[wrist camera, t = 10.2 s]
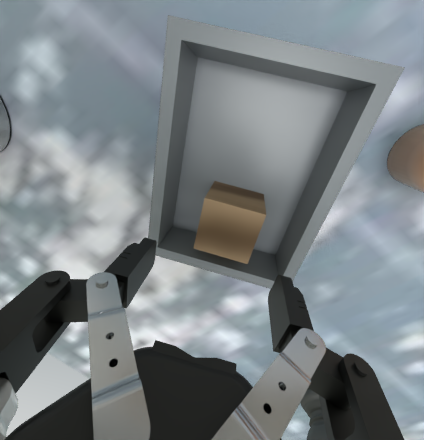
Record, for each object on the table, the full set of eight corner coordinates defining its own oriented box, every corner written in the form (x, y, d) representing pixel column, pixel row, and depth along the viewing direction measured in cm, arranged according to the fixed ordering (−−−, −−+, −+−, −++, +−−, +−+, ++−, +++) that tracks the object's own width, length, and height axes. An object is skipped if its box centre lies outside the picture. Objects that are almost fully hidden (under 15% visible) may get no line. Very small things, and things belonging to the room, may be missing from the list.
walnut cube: (214, 180, 21) (204, 197, 17) (263, 194, 21) (266, 214, 17) (204, 223, 24) (193, 248, 19) (248, 236, 23) (247, 264, 19)
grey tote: (165, 228, 26) (146, 252, 21) (189, 40, 17) (167, 15, 13) (280, 261, 25) (286, 293, 20) (364, 80, 16) (404, 67, 12)
